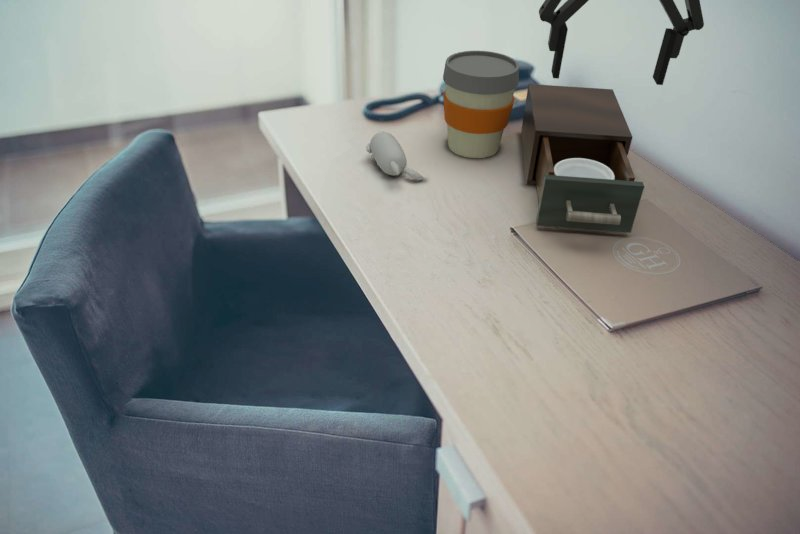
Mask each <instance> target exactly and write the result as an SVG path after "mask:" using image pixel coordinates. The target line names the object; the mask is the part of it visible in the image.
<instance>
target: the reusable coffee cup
mask: <svg viewBox="0 0 800 534" xmlns="http://www.w3.org/2000/svg"><path fill="white" fill-rule="evenodd" d="M442 80H443V82H444V88H445V90H444V91H443V93H442V95H443V96H442V97H443V98H442V99H443V113H444V115H443V116H444V121H445V123H446V124H447V126H446V127H447V145H448V146H447V147H448V149H449V150H450V151H451V152H452V153H454V154H456V155H458V156H461V157H464V158H469V159H484V158H488V157H492V156H494V155H496V154H497V152H499V148H500V144H501V141H502V137H503V134H504V130H505V129H506V128H507V126H509V125H508V124H509V121H510V117H511V114H512V111H513V107H514V104H515V96H514V94H515V91H516V88H517V87H518V86H519V83H520V82H519V81H520V64H519V62H518V61H517V60H516V59H515V58H513V57H511V56H509V55H506V54H504V53H499V52H494V51H487V50H465V51H458V52H455V53H453V54H451V55H449V56H447V58H446V60H445V63H444V69H443V75H442Z"/></svg>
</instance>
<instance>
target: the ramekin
mask: <svg viewBox="0 0 800 534" xmlns="http://www.w3.org/2000/svg"><path fill="white" fill-rule="evenodd" d="M554 175H555V176H569V177H583V178H597V179H610V180H614V179H615V176H614V173H613V171H612V170H611V169H610V168H609V167H607V166H606V165H604V164H602V163H600V162H597V161H594V160H590V159H584V158H570V159H565V160H562V161H560V162H558V163H557V164H556V165H555V166H554Z"/></svg>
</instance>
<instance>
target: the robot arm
mask: <svg viewBox="0 0 800 534" xmlns="http://www.w3.org/2000/svg"><path fill="white" fill-rule="evenodd" d="M589 1H590V0H566V1H565V2H564V3H563V4H562V5H561V6H559V5H560V4H561V2H562V0H544V1H543V3H542V4H541V5H540V8H539V9H538V14H539V19H540V21H541V22H545V23H547V24H549V25H550V29H549V34H548V35H549V36H548V41H547V45H548V50H549V52H554V54H553V59H552V64H551V77H552V79H559V78H560V75H561V68H562V63H563V57H564V51H565V46H566V41H567V36H568V31H569V29H568V25H567V23H566V22H567V21H568V20H570V19H571V18H572V17H573V16H574V15H575V14H576V13H577V12H578V11H579V10H580V9H581V8H582V7H583V6H584V5H585V4H587V3H588V2H589ZM658 2H659V3H660V4H661V6H662V8H663V10H664V12H665V14H666V16H667V17H668V20H669V21H670V24H671V25H672V26H673V27H672V28H669V27H668V28H667V27H666V28H665V30H664V34H663V38H662V41H661V45H660V48H659V51H658V56H657V59H656V63H655V66H654V70H653V74H652V78H653V80H654V82H655V84H656V86H664V82H665V79H666V74H667V72H668V68H669V64H670V61H671V59H677V58H678V57H679V56H680V52H681V48H682V45H683V42H684V40H685V39H684V38H685V37H687V36H688V35H689V33H690V32H692V31H700V30H701V29H703V28H704V26H705V21H704V17H703V10H702V5H701V0H684V5H685V9H686V13H687V14H686V15H687V17H686V18H683V16H682V14H681V12H680V10H679V9H678V6H677V5H676V2H675V0H658ZM558 7H559V8H558ZM557 8H558V9H557Z"/></svg>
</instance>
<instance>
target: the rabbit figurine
mask: <svg viewBox="0 0 800 534" xmlns="http://www.w3.org/2000/svg"><path fill="white" fill-rule="evenodd" d="M369 141H370V142H369V143H368V144H366V152H367V153H368V154H372V155H371V159H372V160H374V161H375V162H376V165H377V166H378V167H379V168H380V169H381V171H382V172H383V173H385V175H388V176H393V177H395V176H399V175H400V174H401V173H402V172H403V171H404V173H405V174H406V175H407V176H408V177H410V178H411V179H414V180H417V181H421V180H423V179H424V177H423V176H422V174H420V173H419V172H418V171H416V170H415V169H413V168H411V167H407V165H408V164H407V156H406V153H405V152H404V149H403V148H402V146H401V144H400V143H399V140H398V139H397V138H396V137H395V136H394V135H393V134H392V133H391V132H388V131H385V130H383V131H378V132H377V133H375V134H374V135H373V136H372V137H371V139H370V140H369Z"/></svg>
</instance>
